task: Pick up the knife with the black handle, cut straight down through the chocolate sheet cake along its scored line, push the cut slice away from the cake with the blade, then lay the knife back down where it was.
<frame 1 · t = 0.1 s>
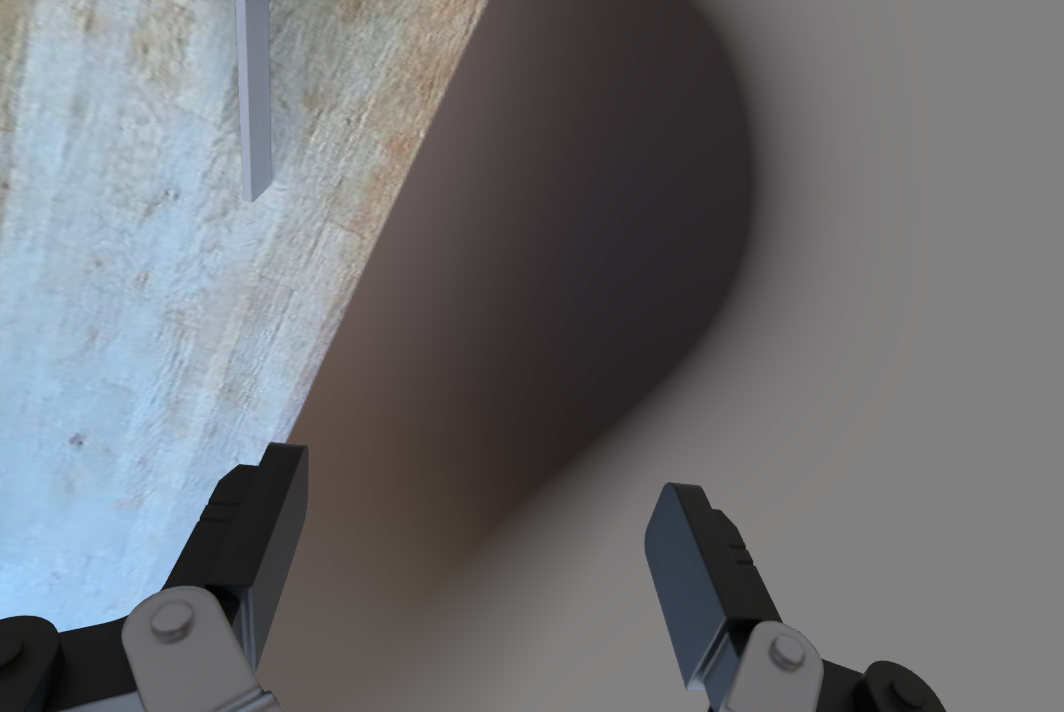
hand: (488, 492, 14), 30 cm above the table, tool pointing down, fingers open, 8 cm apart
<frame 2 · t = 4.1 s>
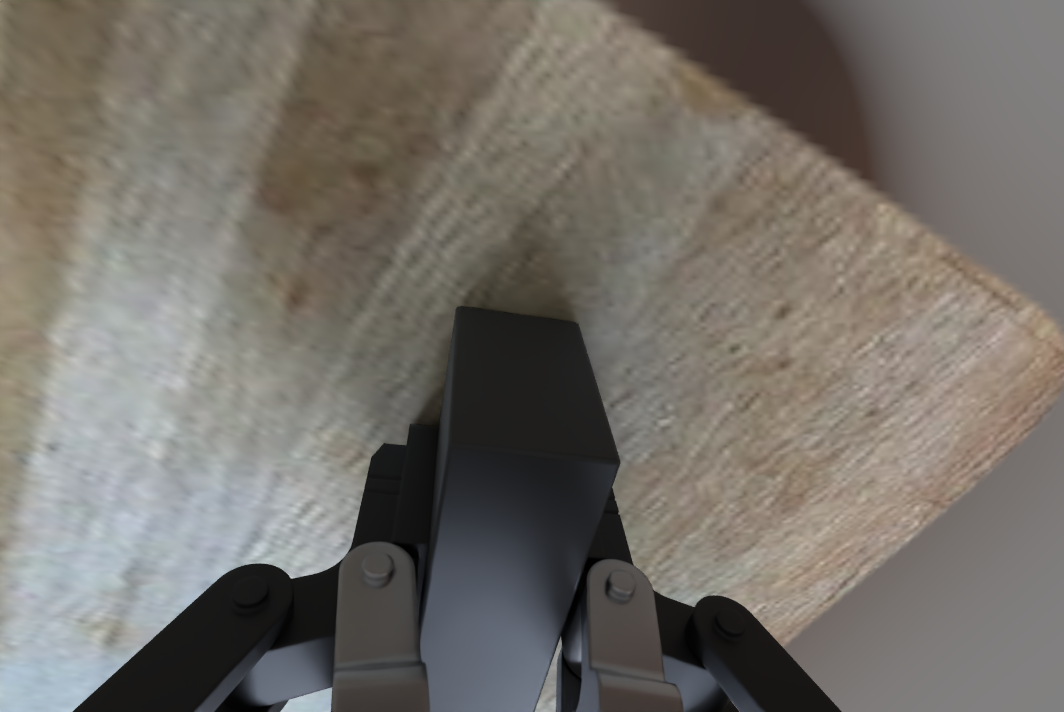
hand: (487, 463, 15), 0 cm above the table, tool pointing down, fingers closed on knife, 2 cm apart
knife: (488, 460, 15), on the table, touching gripper
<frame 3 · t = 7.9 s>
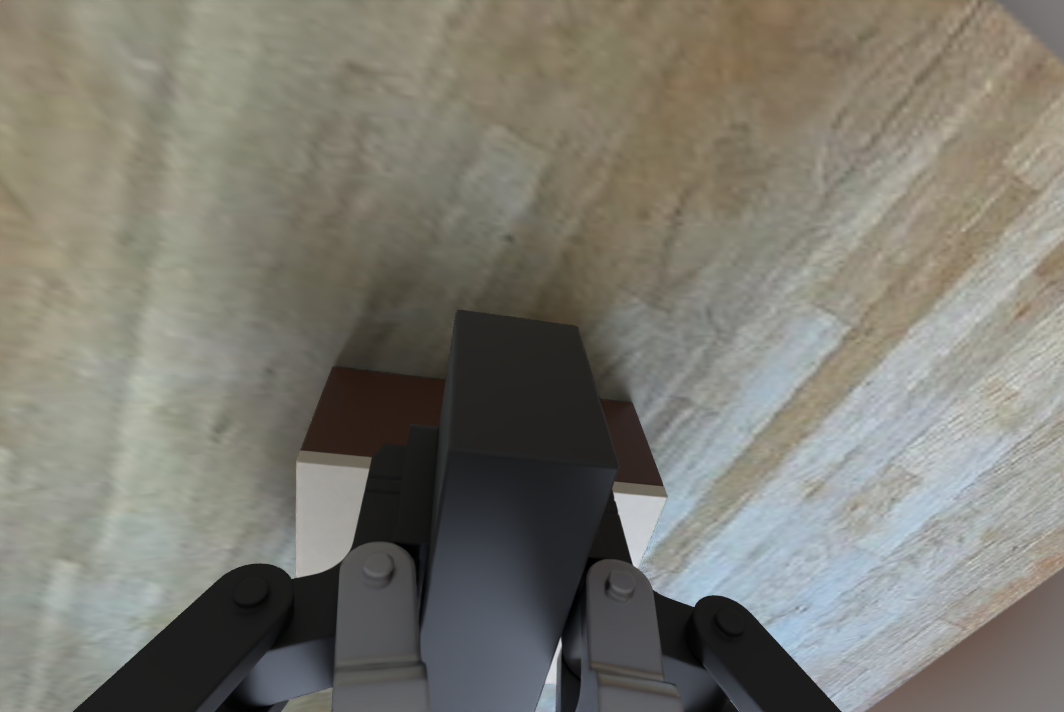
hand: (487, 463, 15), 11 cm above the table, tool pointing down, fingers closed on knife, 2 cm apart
cake: (531, 493, 30), on the table
cake slice: (382, 479, 29), on the table
knife: (488, 462, 15), point 11 cm above the table, touching gripper
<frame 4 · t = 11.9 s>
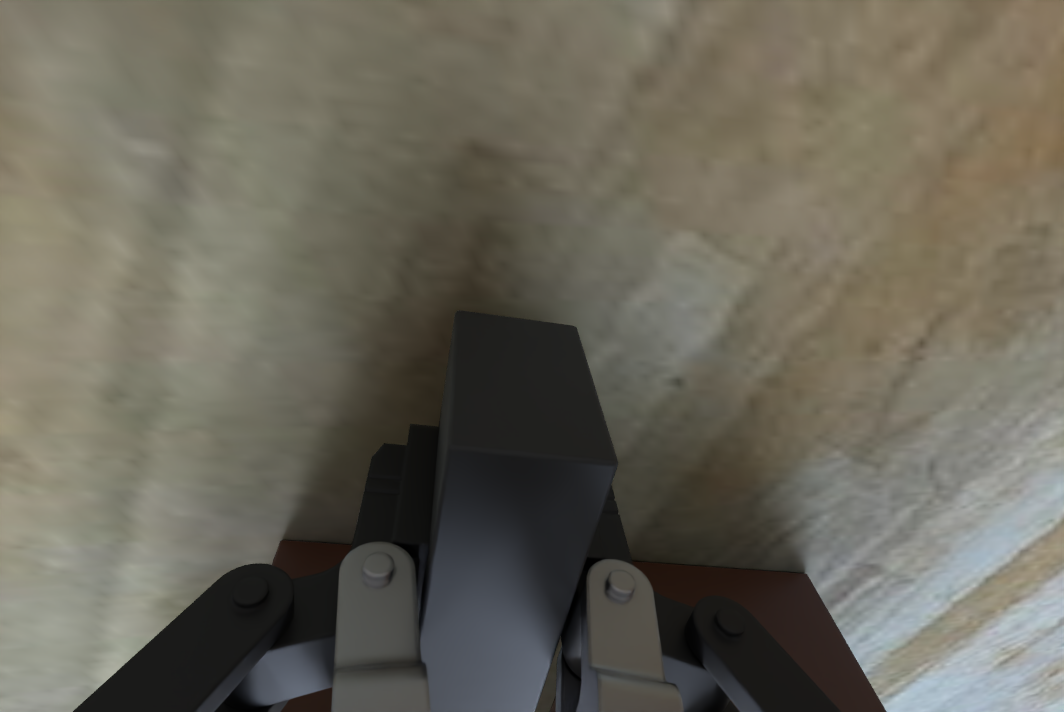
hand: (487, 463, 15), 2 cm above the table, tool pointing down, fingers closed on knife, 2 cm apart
cake: (655, 675, 23), on the table
cake slice: (359, 667, 21), on the table, touching knife
knife: (488, 463, 15), point 2 cm above the table, touching cake slice, gripper
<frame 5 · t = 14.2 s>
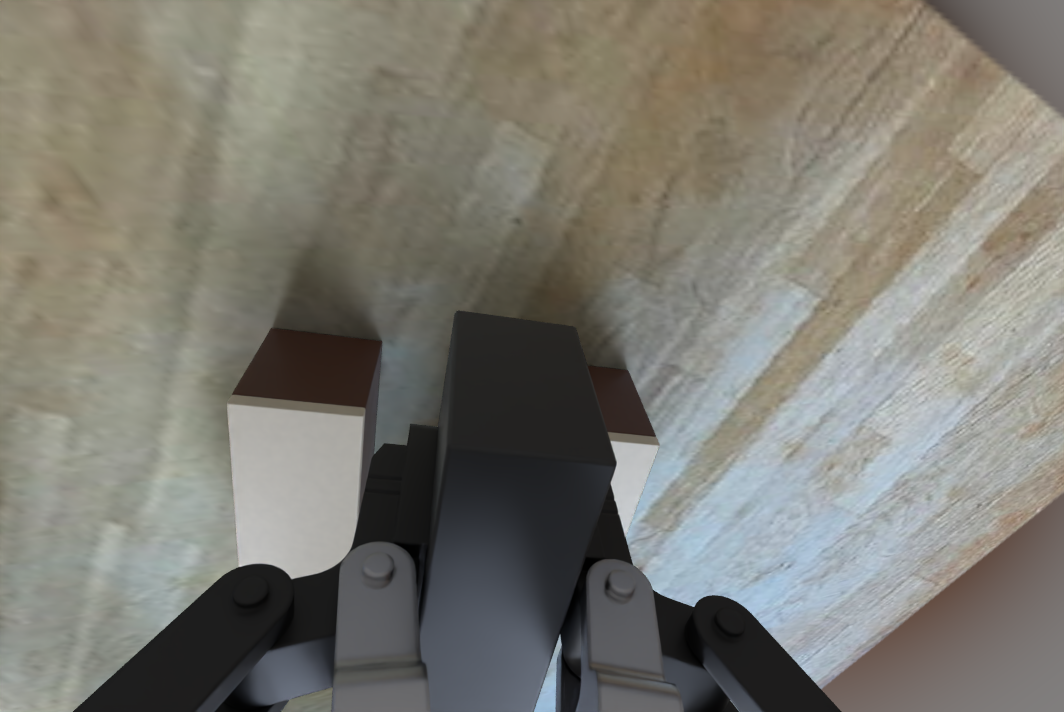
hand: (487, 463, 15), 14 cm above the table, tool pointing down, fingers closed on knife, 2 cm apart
cake: (537, 455, 33), on the table
cake slice: (325, 436, 31), on the table
knife: (487, 463, 15), point 14 cm above the table, touching gripper
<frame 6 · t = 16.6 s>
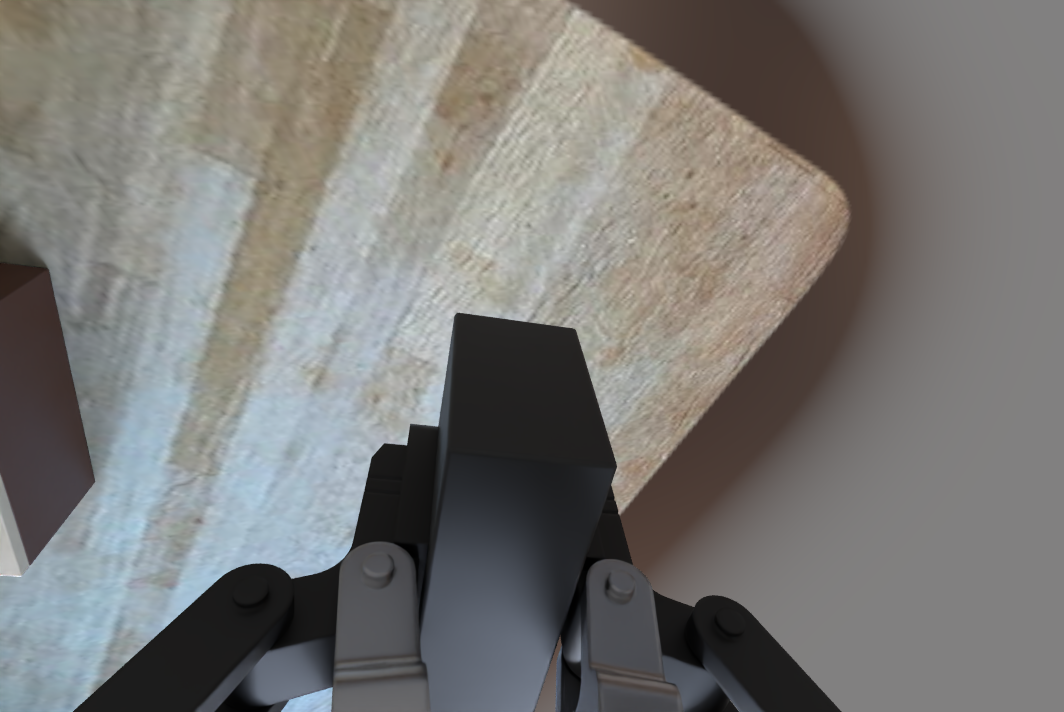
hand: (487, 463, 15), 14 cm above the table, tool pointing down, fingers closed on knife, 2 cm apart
knife: (487, 465, 15), point 14 cm above the table, touching gripper
when the fingers open (0 cm above the table, at t = 20.1 s): knife stays where it is, on the table.
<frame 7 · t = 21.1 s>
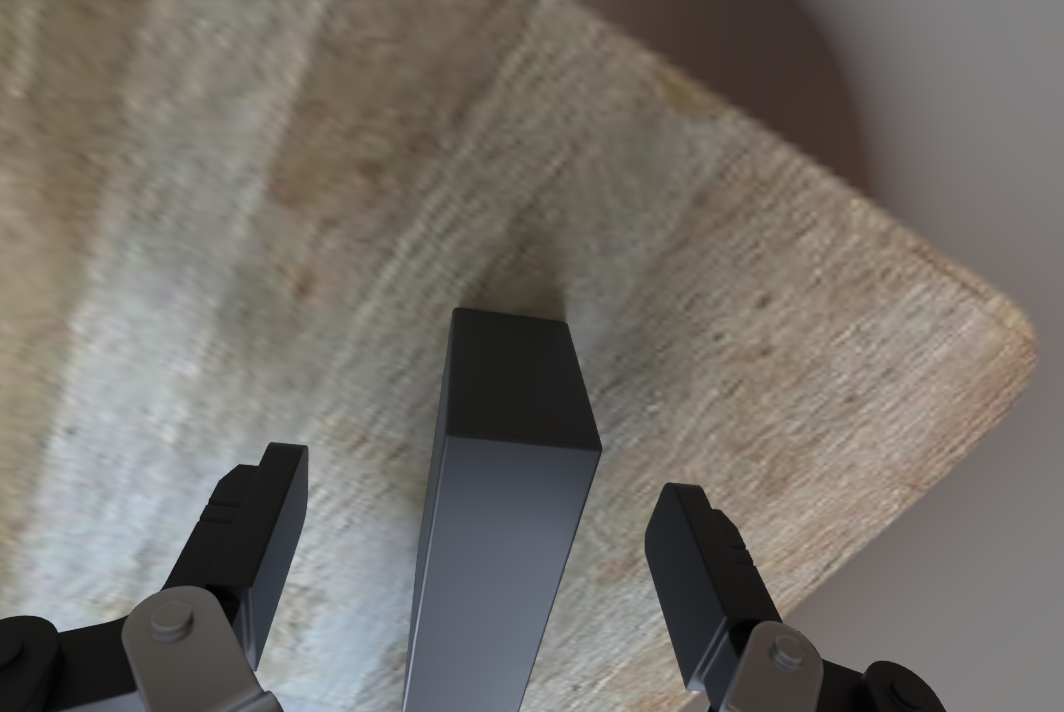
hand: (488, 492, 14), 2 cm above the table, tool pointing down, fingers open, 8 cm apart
knife: (484, 452, 15), on the table
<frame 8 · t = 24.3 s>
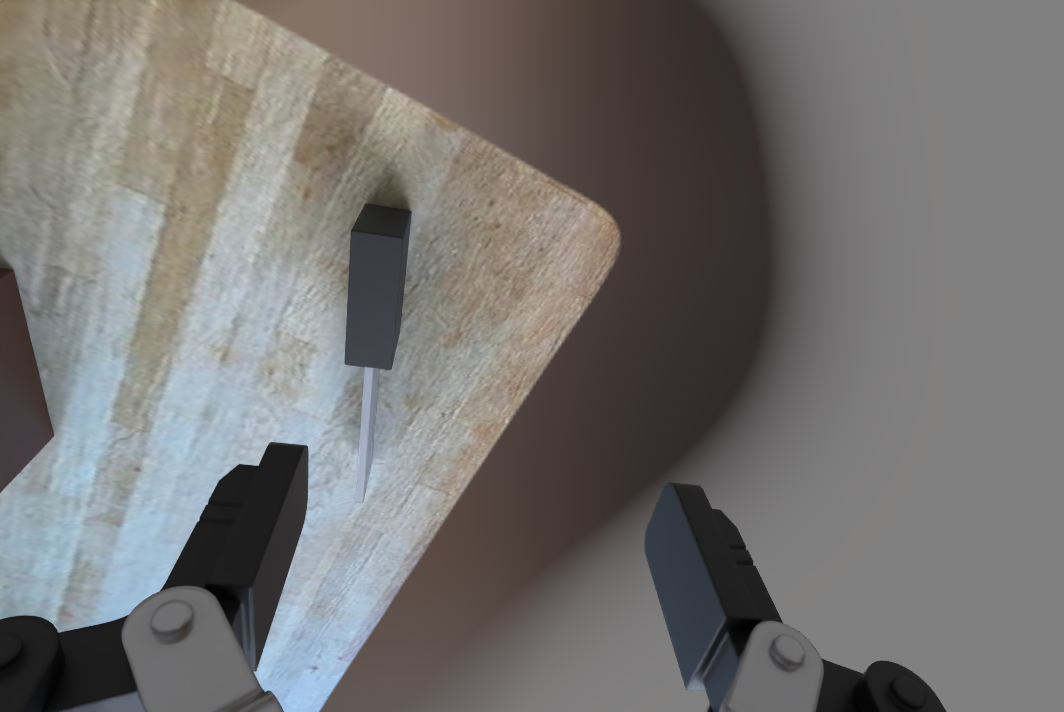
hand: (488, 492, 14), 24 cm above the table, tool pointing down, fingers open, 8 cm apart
knife: (383, 271, 36), on the table
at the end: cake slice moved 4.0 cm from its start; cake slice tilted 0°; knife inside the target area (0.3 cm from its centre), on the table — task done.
